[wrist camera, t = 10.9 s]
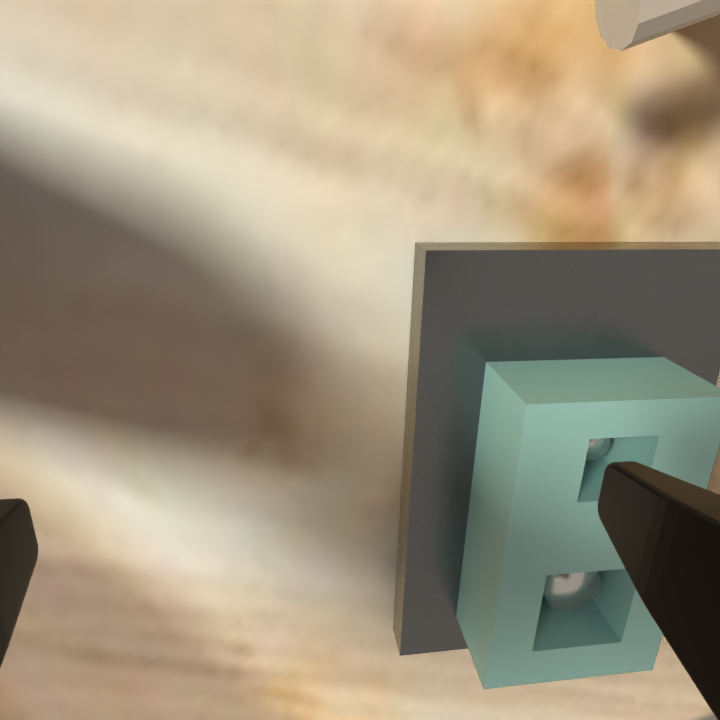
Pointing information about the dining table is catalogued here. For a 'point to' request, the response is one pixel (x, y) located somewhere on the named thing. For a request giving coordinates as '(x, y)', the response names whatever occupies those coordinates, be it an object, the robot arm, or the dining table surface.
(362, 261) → the dining table surface
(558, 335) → the post base
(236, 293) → the dining table surface
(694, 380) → the teal hollow block
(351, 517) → the dining table surface
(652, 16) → the pipe connector
